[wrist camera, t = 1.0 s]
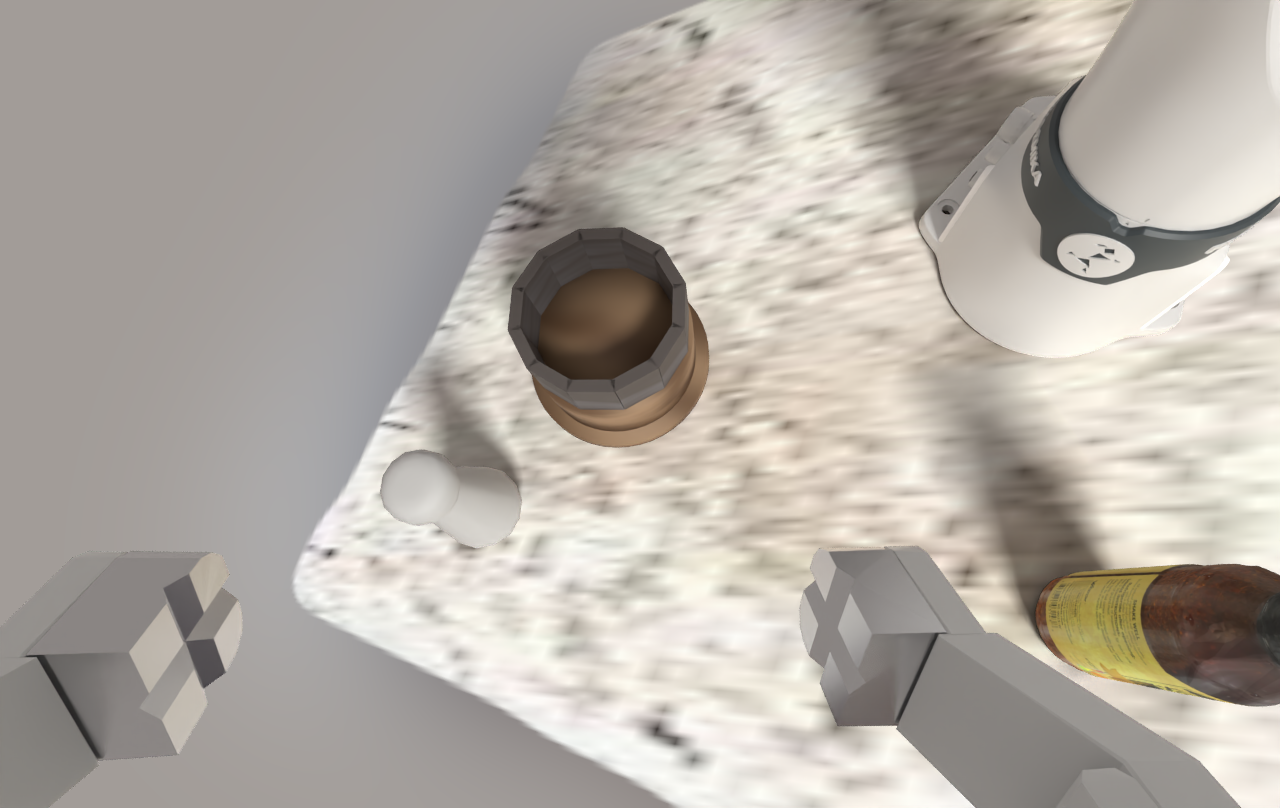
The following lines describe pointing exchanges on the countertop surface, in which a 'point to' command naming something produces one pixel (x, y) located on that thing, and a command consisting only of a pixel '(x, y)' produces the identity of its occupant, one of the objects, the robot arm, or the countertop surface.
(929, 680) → the robot arm
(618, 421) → the brown pot
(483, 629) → the countertop surface
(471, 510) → the salt shaker
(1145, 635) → the sauce bottle
